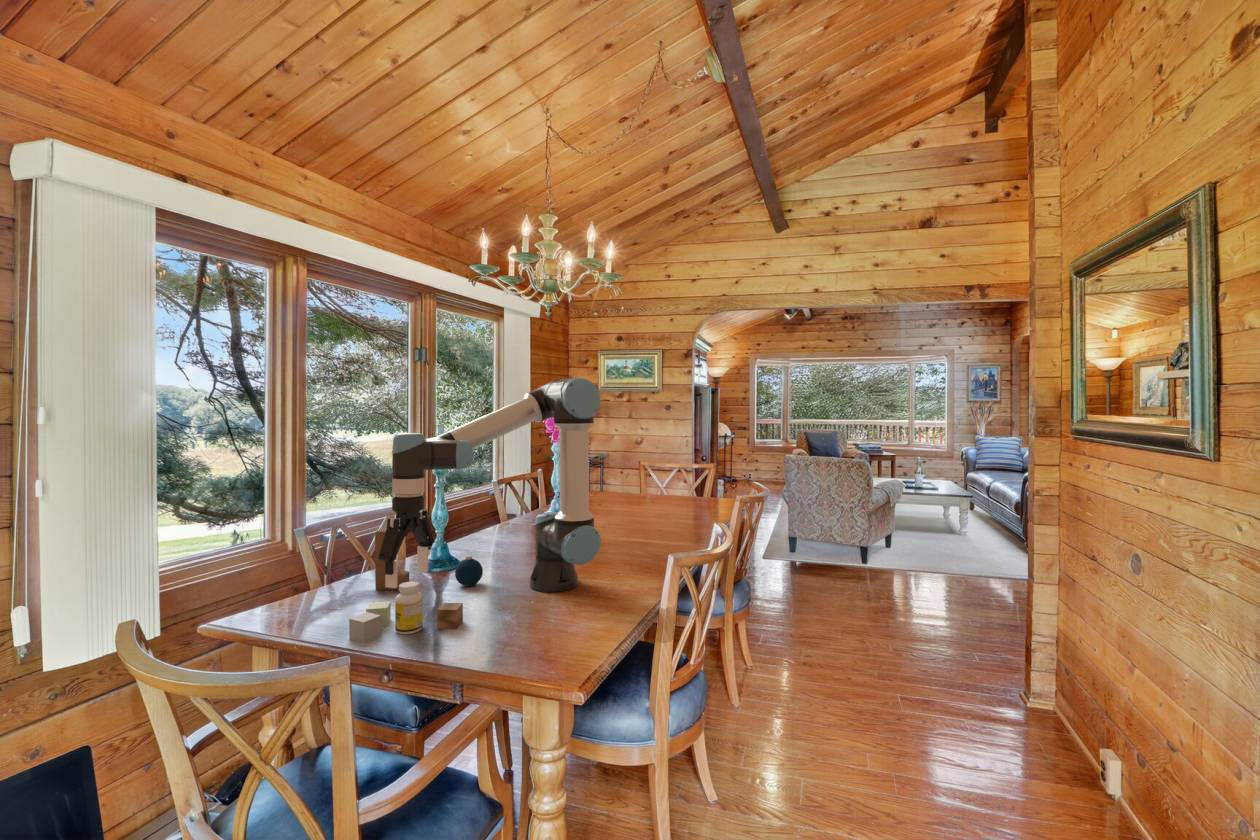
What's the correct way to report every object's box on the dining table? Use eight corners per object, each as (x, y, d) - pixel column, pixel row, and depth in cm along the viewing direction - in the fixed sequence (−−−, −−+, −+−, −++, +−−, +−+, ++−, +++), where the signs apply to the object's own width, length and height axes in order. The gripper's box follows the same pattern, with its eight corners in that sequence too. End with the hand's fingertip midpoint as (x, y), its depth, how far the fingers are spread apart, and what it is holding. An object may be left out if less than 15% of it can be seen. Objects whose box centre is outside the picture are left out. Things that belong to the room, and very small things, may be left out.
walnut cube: (462, 621, 149) (462, 603, 149) (456, 629, 144) (456, 609, 144) (443, 621, 149) (443, 602, 149) (437, 629, 144) (437, 609, 144)
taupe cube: (381, 635, 140) (381, 615, 140) (363, 643, 135) (363, 622, 135) (367, 631, 142) (366, 612, 142) (349, 639, 138) (349, 618, 138)
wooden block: (409, 585, 179) (409, 528, 178) (404, 590, 174) (404, 531, 174) (380, 585, 178) (380, 528, 178) (374, 590, 174) (374, 531, 173)
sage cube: (390, 620, 150) (390, 601, 150) (387, 627, 145) (387, 607, 145) (370, 621, 149) (370, 602, 149) (366, 628, 144) (365, 609, 144)
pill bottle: (400, 625, 146) (399, 580, 146) (425, 624, 147) (425, 580, 146) (391, 635, 140) (391, 588, 139) (418, 634, 140) (418, 588, 140)
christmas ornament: (486, 586, 178) (486, 554, 178) (460, 591, 173) (459, 558, 173) (477, 579, 185) (477, 549, 184) (451, 584, 180) (451, 552, 180)
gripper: (422, 487, 155) (421, 564, 156) (362, 501, 131) (361, 593, 131) (447, 488, 154) (446, 566, 154) (391, 503, 129) (391, 595, 130)
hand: (407, 579), depth 143 cm, fingers open, 13 cm apart
